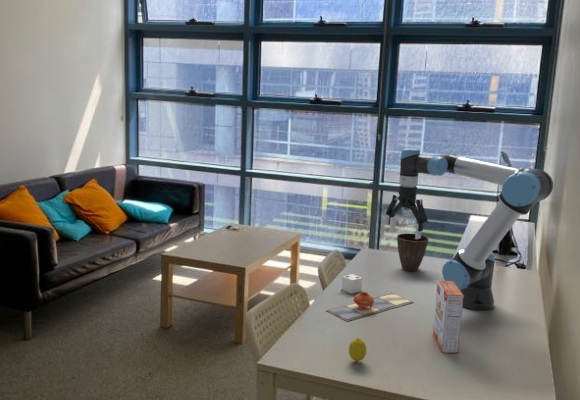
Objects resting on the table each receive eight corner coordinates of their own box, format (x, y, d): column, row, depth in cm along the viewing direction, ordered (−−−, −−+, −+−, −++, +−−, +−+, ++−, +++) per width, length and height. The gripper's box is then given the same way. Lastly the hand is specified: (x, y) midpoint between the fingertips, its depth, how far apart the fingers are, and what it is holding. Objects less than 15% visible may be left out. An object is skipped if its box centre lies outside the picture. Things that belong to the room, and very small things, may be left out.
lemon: (346, 357, 186) (348, 334, 184) (363, 357, 186) (365, 334, 184) (349, 365, 180) (351, 342, 179) (367, 365, 181) (368, 342, 179)
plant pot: (393, 263, 287) (396, 232, 284) (424, 265, 285) (427, 234, 282) (395, 272, 273) (397, 240, 269) (426, 275, 271) (430, 242, 268)
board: (413, 302, 236) (413, 301, 235) (346, 321, 214) (347, 320, 214) (392, 293, 245) (392, 292, 245) (326, 310, 223) (326, 309, 223)
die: (361, 291, 246) (362, 277, 245) (351, 293, 243) (352, 280, 242) (351, 286, 251) (352, 273, 250) (341, 289, 247) (342, 276, 246)
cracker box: (431, 335, 205) (437, 279, 201) (448, 335, 205) (454, 280, 201) (440, 353, 192) (446, 293, 187) (458, 354, 191) (464, 294, 187)
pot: (372, 303, 231) (374, 289, 228) (372, 315, 224) (374, 300, 221) (352, 301, 231) (354, 287, 228) (352, 312, 224) (354, 298, 221)
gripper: (379, 182, 245) (376, 230, 249) (427, 190, 227) (423, 242, 230) (390, 180, 250) (387, 228, 254) (438, 189, 231) (434, 240, 235)
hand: (404, 235), depth 242 cm, fingers open, 13 cm apart
